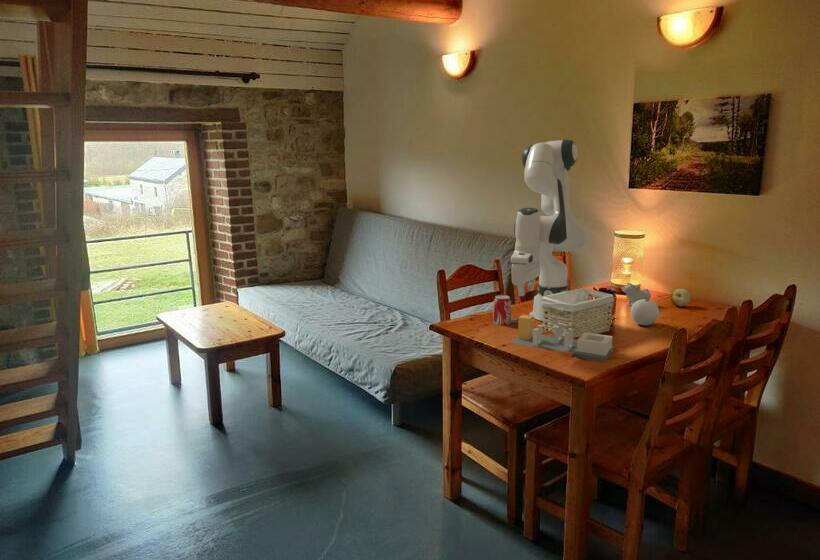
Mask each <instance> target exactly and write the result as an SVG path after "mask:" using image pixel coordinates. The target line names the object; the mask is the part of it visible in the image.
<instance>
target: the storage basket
mask: <svg viewBox="0 0 820 560" xmlns="http://www.w3.org/2000/svg"><path fill="white" fill-rule="evenodd" d="M591 297H592V298H595V299H591V300H590V298H591ZM614 298H615V296H614V294H611V293H607V292H604V291H600V290H599V291H598V290H594V289H590V288H584V287H580V288H577V289H576V288H575V289H571V290H568V291H566V292H562V293H557V294H551V295H547V296H543V297H542V308H543V318H544V319H543V321H542V322H543V331H548V332H551V333H553V334H554V326H558V323H563V337H565V333H566V332H567V333H568V330H569V329H574V339H575V338H580V337H581V336H582V335H583V333H584V332H585V333H593V334H600V335H602V333H603V334H604V333H606V332H609V331H610V330H611V329H610V328H611V324H612V323H611V321H612V312H613V307H614V301H615V299H614Z"/></svg>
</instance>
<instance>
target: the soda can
mask: <svg viewBox="0 0 820 560" xmlns="http://www.w3.org/2000/svg"><path fill="white" fill-rule="evenodd" d="M511 320H512V300H511V298H510V296H509V295H507V294H497V295H495V296H494V299H493V303H492V323H493V324H494V325H499V326H506V325H510V324H511V323H512V321H511Z"/></svg>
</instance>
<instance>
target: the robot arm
mask: <svg viewBox="0 0 820 560" xmlns="http://www.w3.org/2000/svg"><path fill="white" fill-rule="evenodd" d="M578 152H579V151H578V147H577V144H576V142H575V141H573V140H572V139H565V138H564V139H562V140H558V139H557V140H548V141H546V142H537V143H534V144H531V145H528V146H526V147H525V148H524V149H523V150H522V153H521V163H522V166H523V168H524V171H523V172H524V173H523V174H524V175H523V176H524V182H525V184H526V186H527V187H528V188H529V189H530V190H531V191H533V192H534V193H537V194H539V195H540V197H541V198H540V202H541V203H540V207H541V211H542V212H543V213H544V214H545V215H541V213H540V210H539V209H537V208H535V207H525V208H520V209H519V210H518V211H517V214H516V219H515V222H514V225H513V226H514V227H513V228H514V230H513V235H514V237H515V244H514V250H513V253H512V254H511V256H510V263H512V264H511V268H510V270H511V273H510V274H511V283H512V284H513V285H514V286H517V290H518V296H519V297H524V296H525V295H526V290H525V284H527V283H528V285H527V291H530V292H531V291H534V290H535V283H536V278H538V280H539V281H538V284H537V294H536V295H535V296H534V298H533V308H532V311H531V312H529V316H533V319H536V320H538V321H540V322H544V321H543V319H544V318H543V308H542V297H543V296H547V295H551V294H557V293H562V292H566V291H569V287H570V286H569V285H570V284H569V283H568V266H567V265H566V263H564V262H563V261H562V260H560V259H558V258H556V257H554V255H553V252H576V251H581V250H583V249H584V248H585V247H586V246H587V244H588V241H589V234H588V232H587V230H586V228H585V227H584V226H583V225H582V224H580V223H579V222H578V221H577V220H576V219H575V218H574V216H573V214H572V210H571V206H570V184H569V183H570V182H569V174H568V172H569V171H570V170H571V169H572V167H573V166H574V165H575V164H576V162H577V160H578Z"/></svg>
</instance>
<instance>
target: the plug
mask: <svg viewBox="0 0 820 560" xmlns="http://www.w3.org/2000/svg"><path fill="white" fill-rule="evenodd" d="M511 323H513V324H514V323H516V324H518V325H517V326H518V327H517V330H518V331H517V332H518V333H517V337H518V339H523V340H530V339H531V338H532V334H533V329H534V317H533V316H530V315H526V314H522V315H520V316H519V317H518V318H511Z"/></svg>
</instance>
